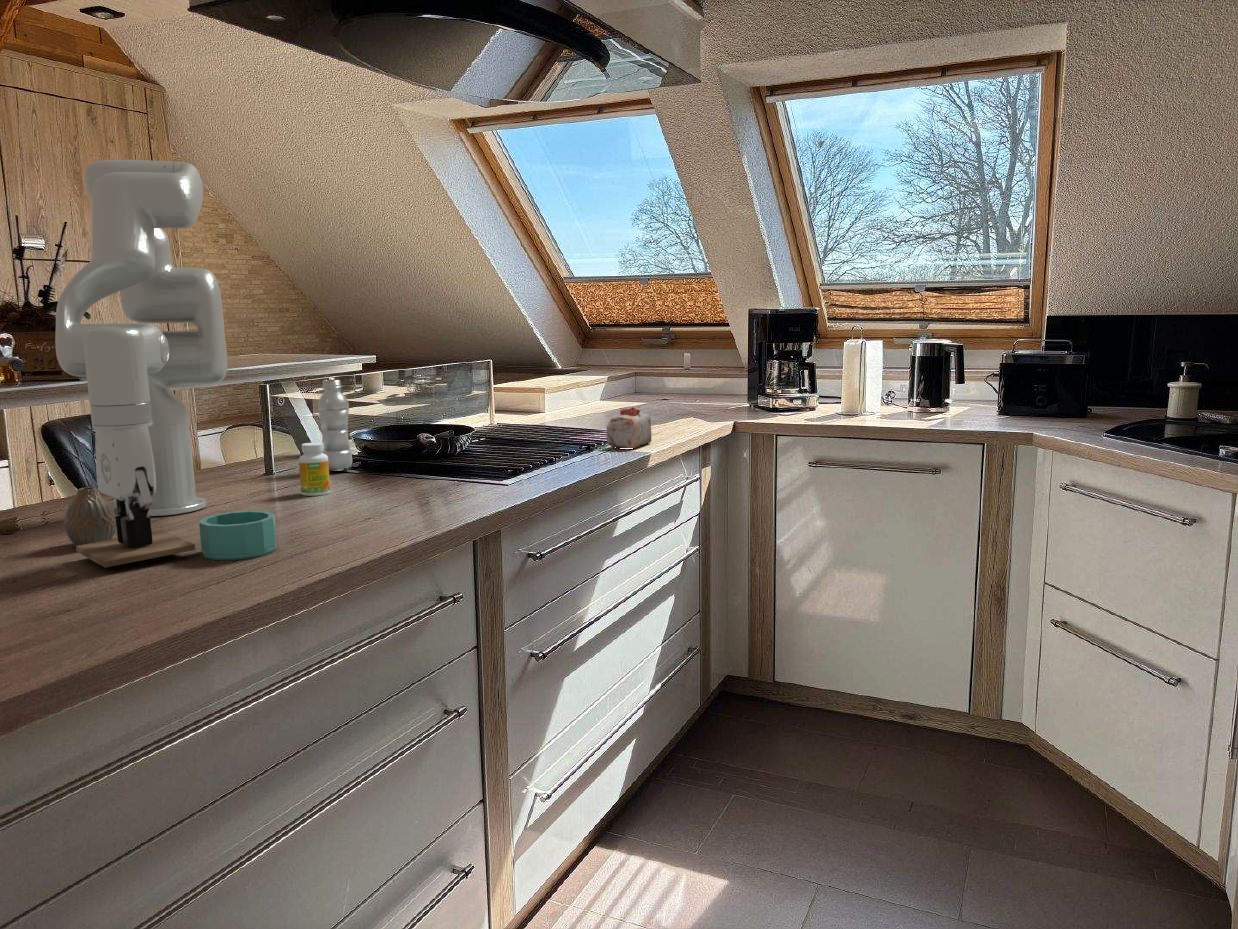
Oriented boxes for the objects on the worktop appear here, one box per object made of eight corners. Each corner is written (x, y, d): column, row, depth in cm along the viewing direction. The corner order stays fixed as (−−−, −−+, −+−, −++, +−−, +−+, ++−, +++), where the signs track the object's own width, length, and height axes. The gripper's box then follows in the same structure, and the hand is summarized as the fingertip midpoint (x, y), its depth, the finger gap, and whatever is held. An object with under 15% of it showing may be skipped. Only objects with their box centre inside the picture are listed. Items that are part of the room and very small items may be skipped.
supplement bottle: (308, 497, 179) (304, 446, 178) (296, 493, 183) (292, 444, 182) (335, 493, 183) (331, 443, 181) (323, 490, 187) (319, 441, 185)
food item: (634, 451, 231) (633, 411, 229) (604, 450, 234) (603, 410, 232) (654, 443, 243) (654, 405, 242) (625, 442, 246) (625, 404, 245)
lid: (76, 551, 136) (72, 518, 135) (163, 535, 144) (160, 504, 143) (104, 567, 128) (101, 533, 127) (195, 549, 136) (192, 517, 135)
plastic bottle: (329, 469, 212) (323, 379, 209) (358, 469, 211) (352, 379, 208) (316, 474, 206) (309, 381, 202) (345, 474, 205) (339, 381, 201)
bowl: (191, 552, 139) (188, 519, 138) (257, 539, 146) (254, 508, 145) (221, 564, 132) (218, 529, 131) (288, 550, 139) (286, 517, 139)
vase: (126, 538, 149) (121, 483, 147) (104, 549, 142) (98, 492, 140) (82, 539, 148) (75, 484, 147) (57, 551, 142) (51, 493, 140)
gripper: (73, 414, 135) (87, 539, 139) (114, 424, 124) (128, 560, 127) (128, 408, 141) (141, 529, 144) (172, 418, 129) (185, 548, 133)
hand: (135, 542), depth 136 cm, fingers closed on lid, 3 cm apart
